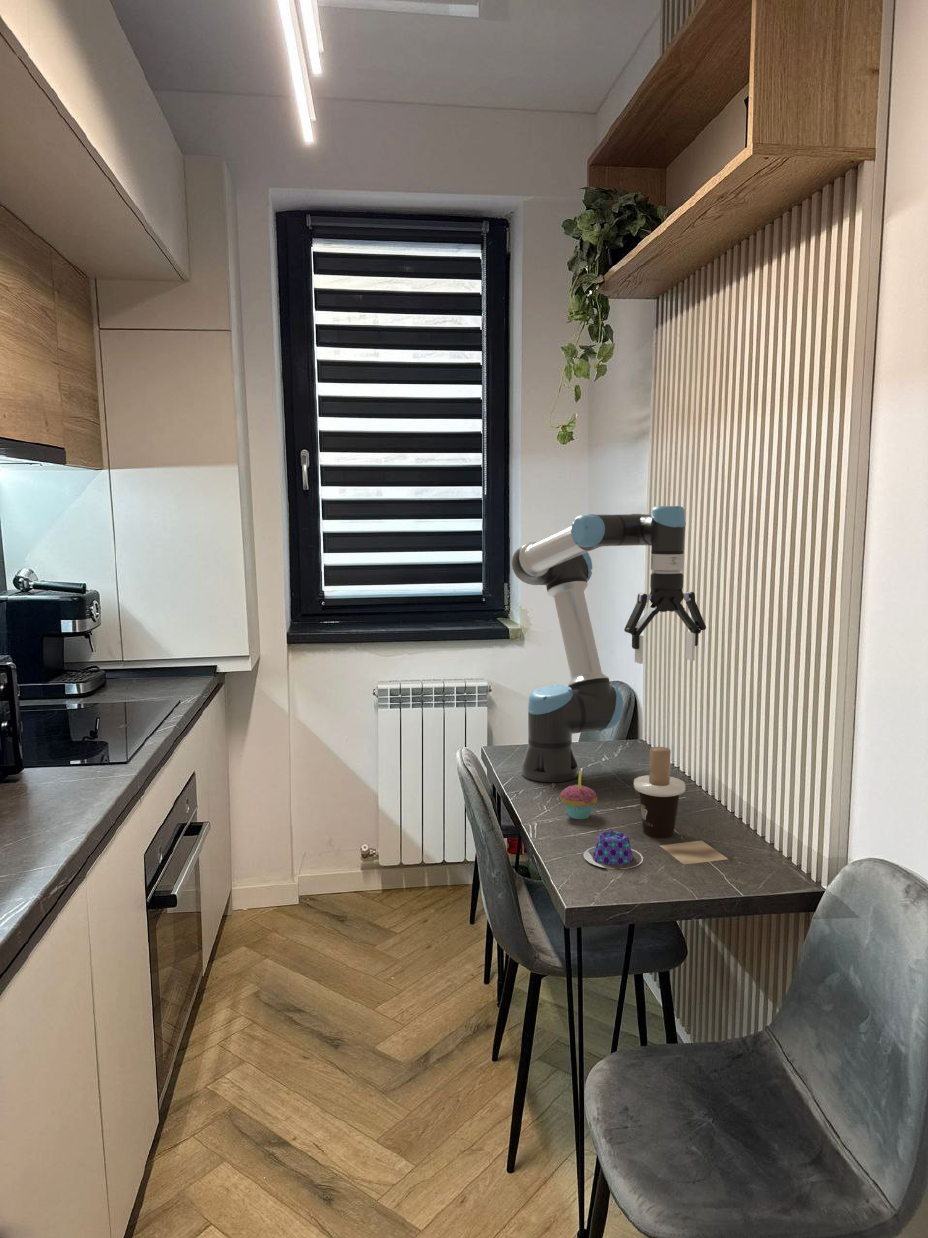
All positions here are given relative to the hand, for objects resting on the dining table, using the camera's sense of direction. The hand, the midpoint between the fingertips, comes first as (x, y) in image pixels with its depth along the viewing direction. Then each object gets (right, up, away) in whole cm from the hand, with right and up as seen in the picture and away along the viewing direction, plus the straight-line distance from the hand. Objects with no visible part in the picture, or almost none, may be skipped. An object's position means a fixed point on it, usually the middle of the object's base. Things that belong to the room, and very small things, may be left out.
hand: (664, 661), depth 200 cm
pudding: (-17, -39, -29) cm, 52 cm away
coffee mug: (-5, -37, -14) cm, 40 cm away
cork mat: (0, -38, -27) cm, 47 cm away
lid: (-5, -27, -16) cm, 32 cm away
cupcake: (-21, -36, -5) cm, 42 cm away
